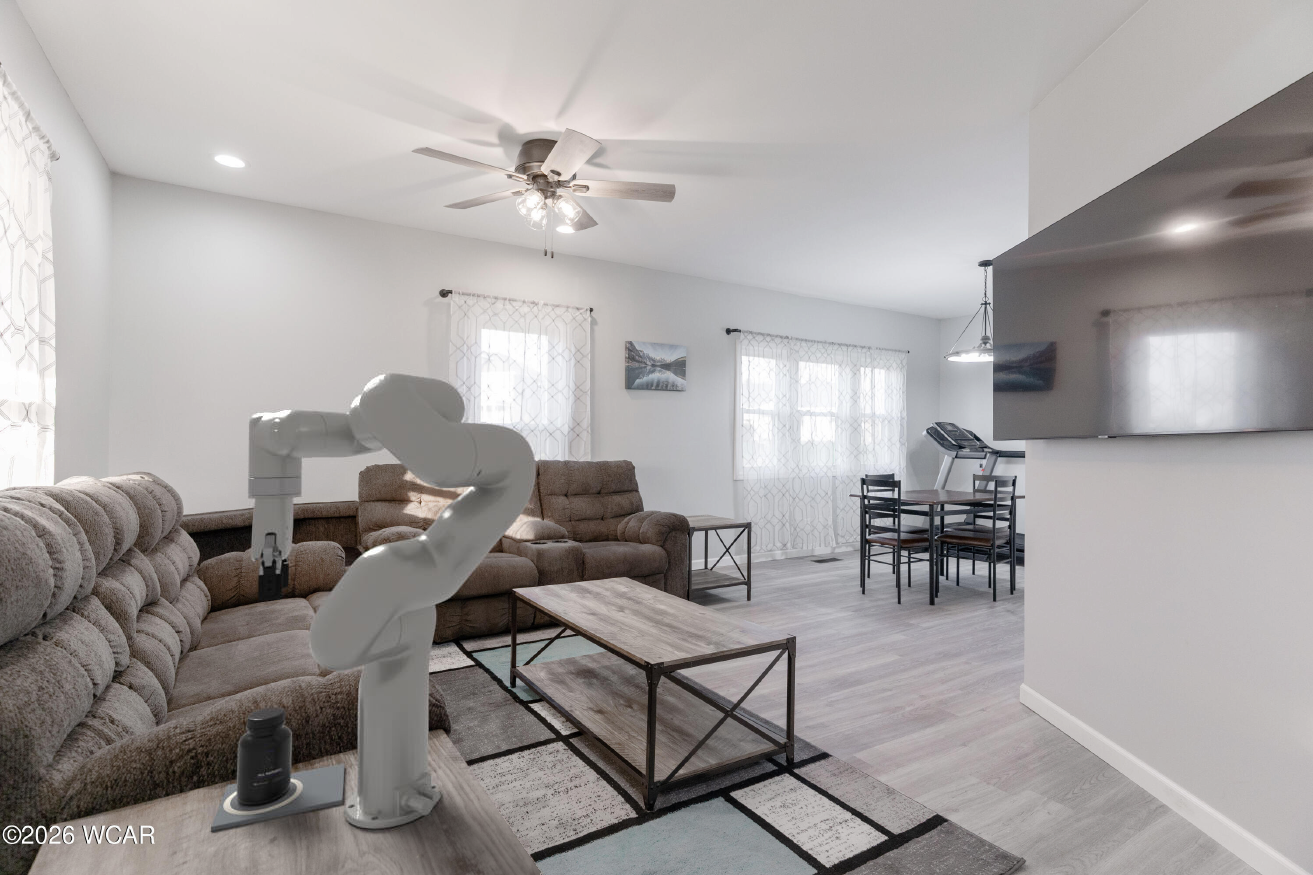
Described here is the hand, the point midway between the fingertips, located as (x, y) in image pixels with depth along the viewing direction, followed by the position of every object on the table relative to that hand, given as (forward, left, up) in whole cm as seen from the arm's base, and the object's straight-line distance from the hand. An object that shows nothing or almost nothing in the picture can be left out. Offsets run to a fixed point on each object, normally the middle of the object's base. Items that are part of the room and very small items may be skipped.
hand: (274, 593), depth 104 cm
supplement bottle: (-9, +6, -28) cm, 30 cm away
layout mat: (-10, +3, -28) cm, 30 cm away
